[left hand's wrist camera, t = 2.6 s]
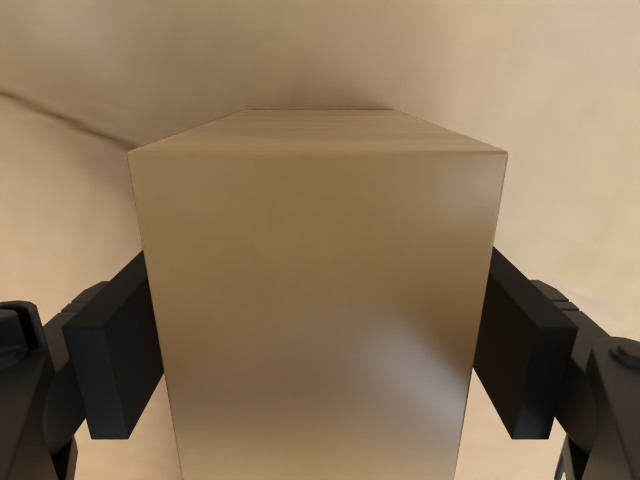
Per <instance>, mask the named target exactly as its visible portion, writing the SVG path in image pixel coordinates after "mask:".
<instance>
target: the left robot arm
mask: <svg viewBox="0 0 640 480" xmlns="http://www.w3.org/2000/svg"><path fill="white" fill-rule="evenodd" d="M473 368H474V370H475V372H476V373H477V375H478V377H479V379H480V381H481V383H482V385H483V386H484V388H485V390H486V392H487V394H488V396H489V398H490V400H491V401H492V403H493V405H494V407H495V409H496V411H497V413H498V414H499V416H500V418H501V420H502V422H503V424H504V426H505V427H506V429H507V431H508V433H509V435H510V437H511V439H549V436H550V432H551V428H552V424H553V421H554V417H556V419H557V420H558V422H559V423H560V425H561V426H562V427H563V429H564V430H565V432H566V437H565V440H564V444H563V447H562V450H561V454H560V457H559V461H558V464H557V468H556V471H555V477H554V480H561V478H562V474H563V472H565V475H566V480H640V342H638V341H635V340H631V339H627V338H621V337H612V336H610V335H608V334H607V333H606V332H605V331H604V330H603V329H602V328H600V327H599V326H598V325H597V324H596V323H595V322H594V321H592V320H591V319H590V318H589V317H588V316H587V315H586V314H584V313H583V312H582V311H579V308H578V307H576V306H575V305H574V304H573V303H572V302H569V300H568V299H567V298H566V297H565V296H564V295H563V294H562V293H560V292H559V291H558V290H557V289H555V288H553V287H551V286H549V285H547V284H545V283H543V282H541V281H539V280H529V279H527V278H526V277H525V276H524V275H523V274H522V273H521V272H520V271H519V270H518V269H517V268H516V267H515V266H514V265H513V264H512V263H511V262H509V261H508V260H507V259H506V258H505V257H504V256H503V255H502V254H501V253H500V252H499V251H498V250H497V249H496V248H495V247H494V246H493V248H492V254H491V260H490V266H489V272H488V278H487V284H486V290H485V296H484V302H483V308H482V314H481V320H480V326H479V332H478V338H477V344H476V350H475V356H474V362H473ZM163 373H164V368H163V362H162V356H161V350H160V344H159V338H158V333H157V327H156V321H155V315H154V309H153V303H152V298H151V292H150V286H149V280H148V274H147V268H146V263H145V257H144V251H143V250H142V251H141V252H140V253H139V254H138V255H137V256H136V257H135V258H134V259H133V260H132V261H131V262H129V263H128V264H127V265H126V266H125V267H124V268H123V269H122V270H121V271H120V272H119V273H118V274H117V275H116V276H115V277H114V278H113V279H112V280H110V281H102V282H100V283H98V284H96V285H94V286H92V287H90V288H88V289H86V290H84V291H83V292H82V293H80V294H79V295H78V296H77V297H76V298H75V299H74V300H73V301H72V303H71V304H68V305H67V306H66V307H65V308H63V309H62V310H61V313H58V314H57V315H56V316H54V317H53V318H52V319H51V320H50V321H49V322H48V323H46V324H45V325H44V326H43V327H42V323H41V320H40V317H39V313H38V310H37V306H36V305H35V304H33V303H31V302H28V301H7V302H0V480H74V476H75V469H76V462H77V455H78V450H77V444H76V440H75V437H74V434H75V433H76V431H77V430H78V428H79V427H80V425H81V424H82V422H83V421H84V420H85V418H86V421H87V424H88V428H89V432H90V435H91V439H129V437H130V435H131V433H132V431H133V429H134V427H135V426H136V424H137V422H138V420H139V418H140V416H141V414H142V413H143V411H144V409H145V407H146V405H147V403H148V401H149V400H150V398H151V396H152V394H153V392H154V390H155V388H156V386H157V385H158V383H159V381H160V379H161V377H162V375H163Z"/></svg>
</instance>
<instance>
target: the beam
mask: <svg viewBox="0 0 640 480" xmlns="http://www.w3.org/2000/svg"><path fill="white" fill-rule="evenodd" d="M127 158H128V164H129V169H130V175H131V181H132V187H133V193H134V199H135V204H136V210H137V216H138V222H139V228H140V233H141V239H142V245H143V251H144V257H145V263H146V268H147V274H148V280H149V286H150V292H151V298H152V303H153V309H154V315H155V321H156V327H157V333H158V338H159V344H160V350H161V356H162V362H163V368H164V373H165V379H166V385H167V391H168V397H169V402H170V408H171V414H172V420H173V426H174V432H175V437H176V443H177V449H178V455H179V461H180V467H181V472H182V478H183V480H454V476H455V470H456V464H457V458H458V452H459V446H460V440H461V434H462V428H463V422H464V416H465V410H466V404H467V398H468V392H469V386H470V380H471V374H472V368H473V362H474V356H475V350H476V344H477V338H478V332H479V326H480V320H481V314H482V308H483V302H484V296H485V290H486V284H487V278H488V272H489V266H490V260H491V254H492V248H493V242H494V236H495V230H496V224H497V219H498V213H499V207H500V201H501V195H502V189H503V183H504V177H505V171H506V165H507V159H508V152H507V151H505V150H502V149H499V148H497V147H494V146H491V145H489V144H486V143H483V142H480V141H478V140H475V139H472V138H470V137H467V136H464V135H462V134H459V133H456V132H453V131H451V130H448V129H445V128H443V127H440V126H437V125H435V124H432V123H429V122H426V121H424V120H421V119H418V118H416V117H413V116H410V115H408V114H405V113H402V112H399V111H397V110H241V111H239V112H236V113H233V114H230V115H227V116H225V117H222V118H219V119H216V120H214V121H211V122H208V123H205V124H203V125H200V126H197V127H194V128H191V129H189V130H186V131H183V132H180V133H178V134H175V135H172V136H169V137H166V138H164V139H161V140H158V141H155V142H153V143H150V144H147V145H144V146H142V147H139V148H136V149H133V150H130V151H128V152H127Z"/></svg>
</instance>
